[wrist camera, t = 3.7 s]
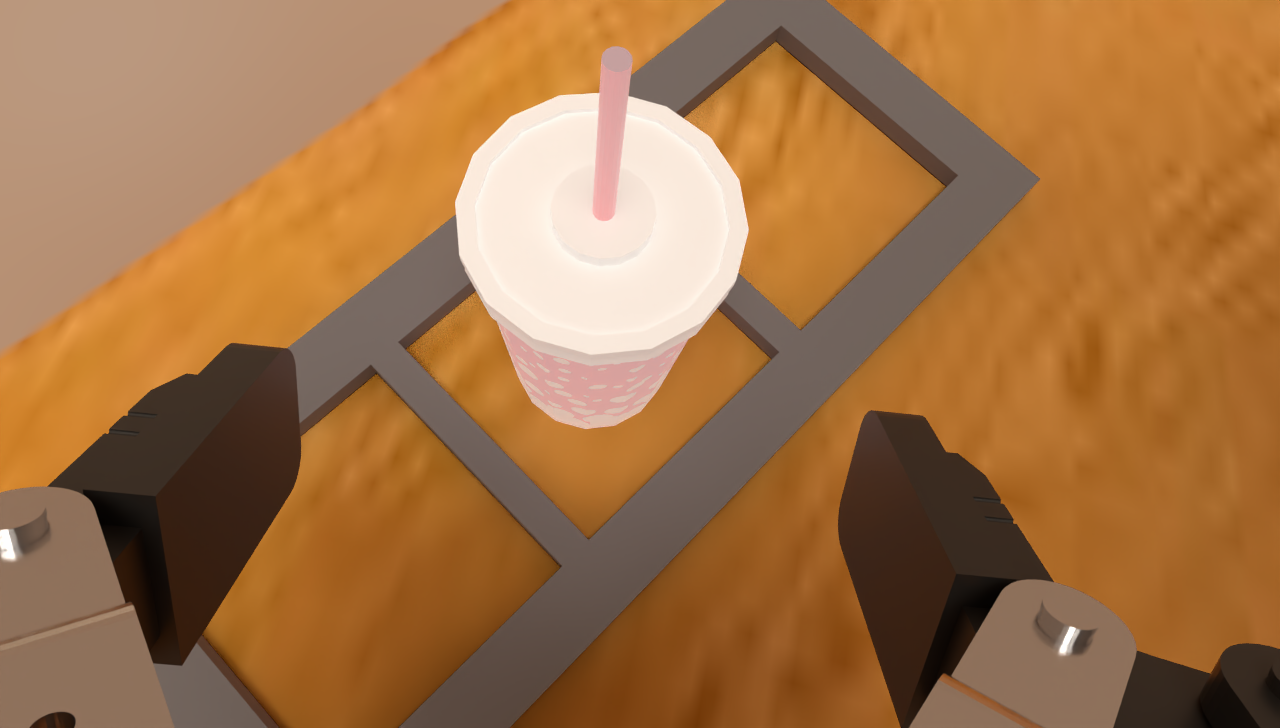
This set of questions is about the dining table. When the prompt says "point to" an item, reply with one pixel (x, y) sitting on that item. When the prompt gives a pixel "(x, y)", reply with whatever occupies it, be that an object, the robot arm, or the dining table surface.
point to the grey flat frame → (726, 446)
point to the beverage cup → (599, 244)
